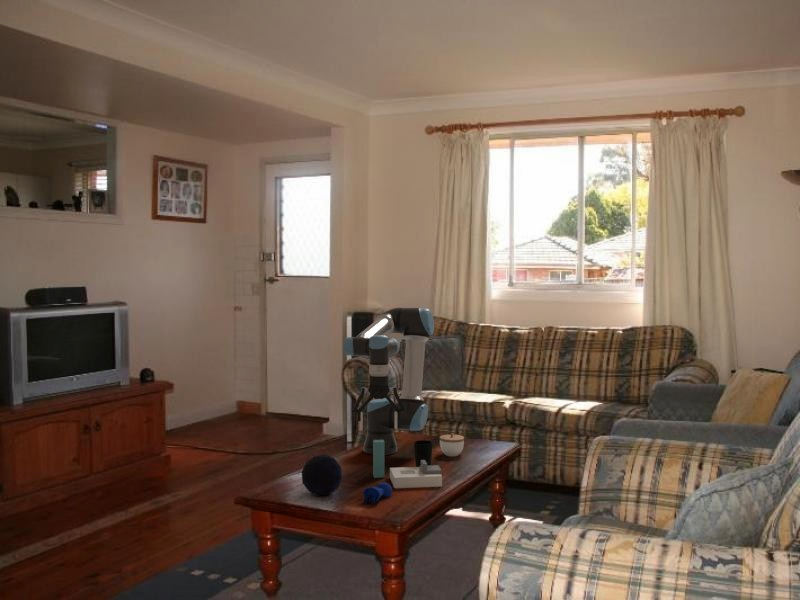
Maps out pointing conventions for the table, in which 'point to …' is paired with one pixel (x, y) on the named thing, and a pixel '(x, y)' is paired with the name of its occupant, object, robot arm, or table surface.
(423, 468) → the plate
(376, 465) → the plug
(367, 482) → the table surface
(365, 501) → the toy
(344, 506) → the table surface
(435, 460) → the table surface
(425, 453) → the cup
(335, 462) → the decorative orb
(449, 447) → the lidded jar
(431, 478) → the socket box
